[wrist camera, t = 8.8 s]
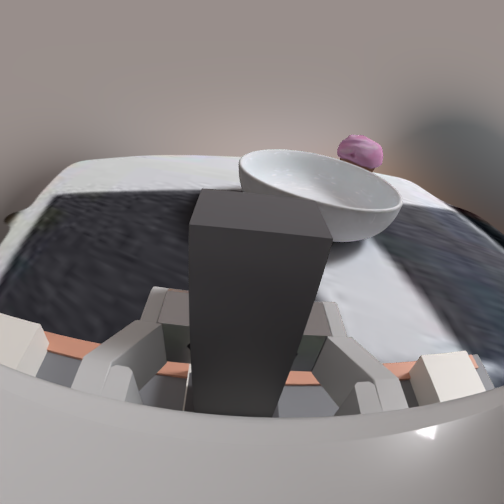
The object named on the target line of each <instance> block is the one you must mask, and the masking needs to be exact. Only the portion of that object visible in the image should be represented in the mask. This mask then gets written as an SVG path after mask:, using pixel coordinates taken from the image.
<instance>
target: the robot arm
mask: <svg viewBox="0 0 504 504" xmlns="http://www.w3.org/2000/svg"><path fill="white" fill-rule="evenodd" d="M167 361H168V362H177V363H188V364H191V354H190V328H189V291H186V290H178V289H171V288H169V289H168V288H161V287H153V288H152V290H151V292H150V295H149V298H148V300H147V303H146V306H145V308H144V311H143V314H142V317H141V320H140V321H139V320H135V321H134V322H132V323H131V324H130V325H128V326H127V327H125V328H124V329H122V330H121V331H119V332H118V333H117V334H115V335H114V336H112V337H111V338H109V339H108V340H107V341H105V342H104V343H102V344H101V345H99V346H98V347H97V348H95V349H94V350H92V351H91V352H89V353H88V354H87V355H85V356H84V357H83V359H82V362H81V364H80V366H79V369H78V371H77V374H76V376H75V379H74V381H73V384H72V386H71V388H69V387H65V386H62V385H59V384H55V383H52V382H49V381H46V380H43V379H40V378H37V377H34V376H31V375H28V374H26V373H23V372H20V371H18V370H15V369H12V368H10V367H7V366H5V365H2V364H0V504H504V386H501V387H498V388H495V389H491V390H488V391H484V392H481V393H477V394H473V395H470V396H466V397H461V398H457V399H453V400H448V401H444V402H439V403H434V404H429V405H424V406H418V407H412V408H409V407H408V404H407V401H406V398H405V395H404V392H403V390H402V387H401V384H400V381H399V378H398V377H396V376H395V375H394V374H393V373H392V372H391V371H390V370H388V369H387V368H386V367H385V366H384V365H383V364H382V363H381V362H379V361H378V360H377V359H376V358H375V357H374V356H373V355H371V354H370V353H369V352H368V351H367V350H366V349H365V348H363V347H362V346H361V345H360V344H359V343H358V342H357V341H355V340H354V339H353V338H352V337H347V334H346V331H345V327H344V324H343V321H342V318H341V315H340V312H339V309H338V305H337V304H336V303H335V302H314V304H313V307H312V310H311V313H310V316H309V319H308V322H307V325H306V328H305V331H304V334H303V336H302V339H301V342H300V345H299V348H298V351H297V353H296V356H295V359H294V362H293V364H292V367H291V370H290V371H304V372H312V374H313V375H314V377H315V378H316V379H317V381H318V382H319V383H320V384H321V386H322V387H323V388H324V389H325V391H326V392H327V393H328V394H329V396H330V397H331V398H332V400H333V401H334V402H335V403H336V405H337V406H338V407H339V409H338V410H337V412H336V413H335V414H334V416H329V417H302V418H270V417H243V416H227V415H215V414H204V413H195V412H187V411H179V410H172V409H165V408H158V407H152V406H147V405H143V403H142V400H141V397H140V394H139V391H140V390H141V389H142V388H143V387H144V386H145V385H146V384H147V383H148V382H149V381H150V380H151V379H152V378H153V377H154V376H155V374H156V373H157V372H158V371H159V370H160V369H161V368H162V367H163V366H164V365H165V364H166V363H167Z"/></svg>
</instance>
